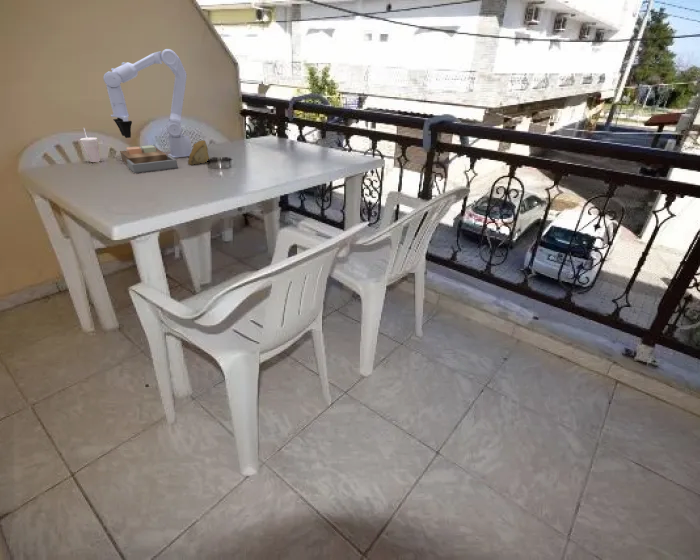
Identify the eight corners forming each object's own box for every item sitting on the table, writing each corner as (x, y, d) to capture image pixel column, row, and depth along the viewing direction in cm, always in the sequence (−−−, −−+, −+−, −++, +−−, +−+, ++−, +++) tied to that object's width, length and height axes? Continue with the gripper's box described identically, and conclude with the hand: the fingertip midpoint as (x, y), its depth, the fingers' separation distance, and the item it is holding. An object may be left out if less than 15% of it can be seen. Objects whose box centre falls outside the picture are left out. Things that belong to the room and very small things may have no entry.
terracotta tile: (139, 151, 169) (138, 146, 168) (142, 153, 166) (141, 148, 165) (126, 152, 166) (125, 147, 165) (129, 154, 163) (128, 149, 162)
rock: (187, 161, 162) (211, 157, 166) (181, 143, 163) (204, 138, 166) (190, 171, 173) (212, 167, 176) (184, 154, 173) (206, 150, 176)
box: (170, 163, 168) (169, 155, 166) (178, 168, 161) (176, 159, 159) (128, 168, 158) (126, 159, 156) (134, 173, 152) (132, 164, 150)
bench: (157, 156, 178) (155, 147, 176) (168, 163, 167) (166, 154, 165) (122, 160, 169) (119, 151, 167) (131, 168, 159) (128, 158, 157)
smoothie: (85, 161, 166) (74, 127, 159) (102, 159, 170) (92, 126, 163) (88, 164, 162) (78, 129, 155) (105, 162, 166) (95, 128, 159)
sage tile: (153, 149, 172) (152, 145, 171) (156, 151, 169) (155, 147, 168) (141, 150, 169) (140, 146, 168) (144, 152, 166) (143, 148, 165)
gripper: (104, 102, 164) (113, 134, 171) (111, 105, 155) (120, 140, 162) (122, 101, 168) (130, 133, 175) (130, 104, 159) (138, 138, 166)
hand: (126, 136), depth 169 cm, fingers open, 5 cm apart
